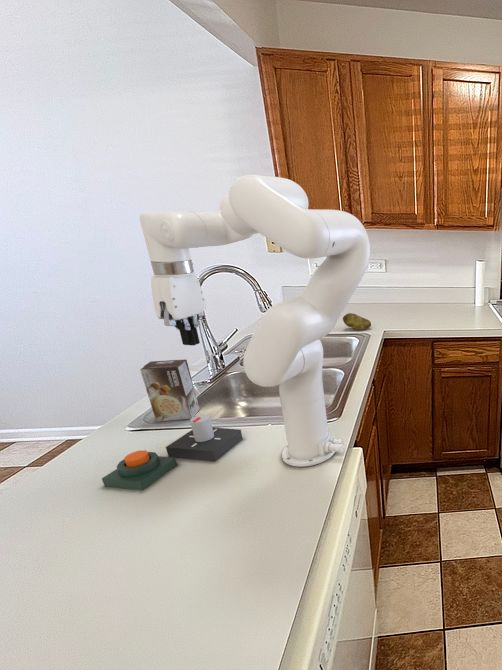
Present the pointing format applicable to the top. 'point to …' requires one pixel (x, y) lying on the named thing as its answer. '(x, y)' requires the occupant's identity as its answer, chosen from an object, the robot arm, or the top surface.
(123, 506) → the top surface
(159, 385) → the food box
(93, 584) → the top surface
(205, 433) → the timer knob
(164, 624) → the top surface
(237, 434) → the timer panel
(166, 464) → the block
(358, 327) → the potato
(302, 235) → the robot arm
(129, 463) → the button
